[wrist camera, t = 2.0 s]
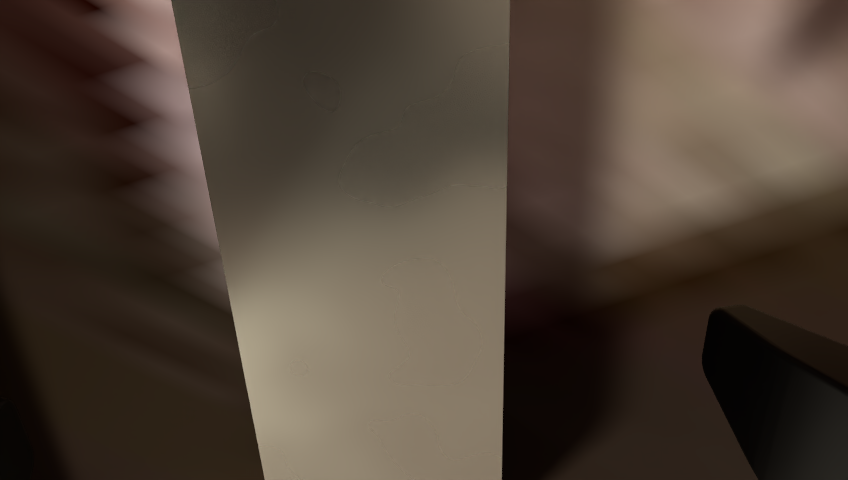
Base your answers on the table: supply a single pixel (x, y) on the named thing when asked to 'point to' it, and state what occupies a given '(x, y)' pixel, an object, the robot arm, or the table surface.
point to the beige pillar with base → (360, 225)
